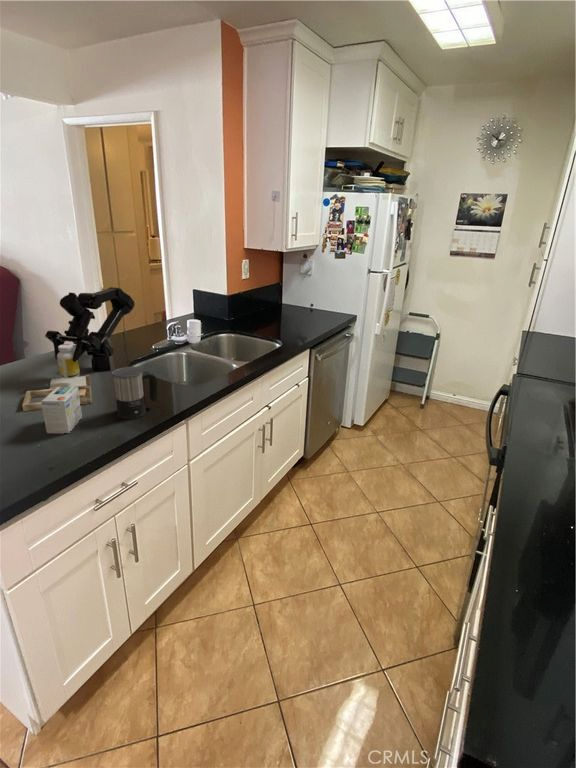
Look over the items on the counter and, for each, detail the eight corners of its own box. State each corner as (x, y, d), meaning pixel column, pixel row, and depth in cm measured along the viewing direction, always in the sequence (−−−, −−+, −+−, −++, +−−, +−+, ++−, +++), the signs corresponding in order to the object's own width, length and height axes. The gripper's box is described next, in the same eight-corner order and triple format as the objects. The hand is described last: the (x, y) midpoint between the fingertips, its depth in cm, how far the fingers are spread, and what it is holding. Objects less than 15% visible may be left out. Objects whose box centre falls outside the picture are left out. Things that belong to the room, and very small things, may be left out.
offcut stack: (87, 394, 148) (86, 387, 147) (87, 401, 143) (86, 394, 142) (64, 396, 145) (63, 389, 144) (64, 404, 140) (63, 397, 139)
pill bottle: (84, 374, 153) (79, 345, 149) (70, 380, 148) (65, 350, 143) (70, 371, 155) (65, 342, 151) (56, 377, 150) (51, 347, 145)
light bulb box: (61, 417, 131) (56, 386, 127) (83, 417, 132) (78, 386, 127) (45, 433, 121) (39, 400, 117) (69, 434, 122) (64, 401, 118)
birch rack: (91, 390, 151) (89, 374, 149) (91, 403, 141) (89, 387, 139) (27, 396, 143) (24, 380, 141) (23, 411, 133) (19, 394, 131)
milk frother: (128, 422, 130) (124, 379, 125) (97, 408, 138) (92, 367, 132) (163, 407, 142) (161, 367, 136) (133, 395, 149) (129, 356, 144)
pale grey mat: (89, 377, 162) (89, 375, 162) (89, 389, 151) (89, 388, 151) (51, 380, 157) (51, 379, 156) (49, 393, 146) (48, 392, 146)
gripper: (113, 336, 160) (100, 372, 154) (69, 331, 162) (54, 366, 156) (99, 321, 149) (84, 359, 144) (52, 316, 152) (36, 353, 146)
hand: (65, 360), depth 148 cm, fingers closed on pill bottle, 6 cm apart
